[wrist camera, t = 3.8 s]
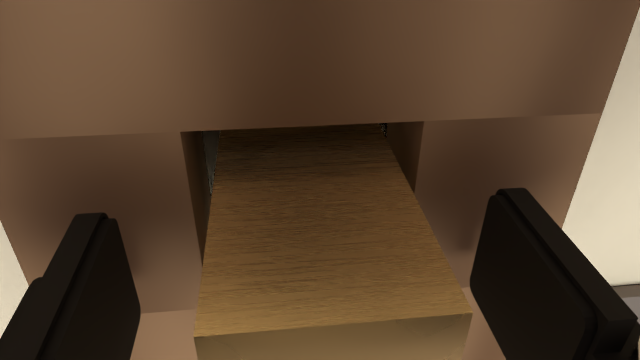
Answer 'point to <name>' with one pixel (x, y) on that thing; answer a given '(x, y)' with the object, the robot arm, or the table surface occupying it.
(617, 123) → the table surface
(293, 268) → the wooden block
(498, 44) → the socket block
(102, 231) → the robot arm
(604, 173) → the table surface
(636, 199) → the table surface
